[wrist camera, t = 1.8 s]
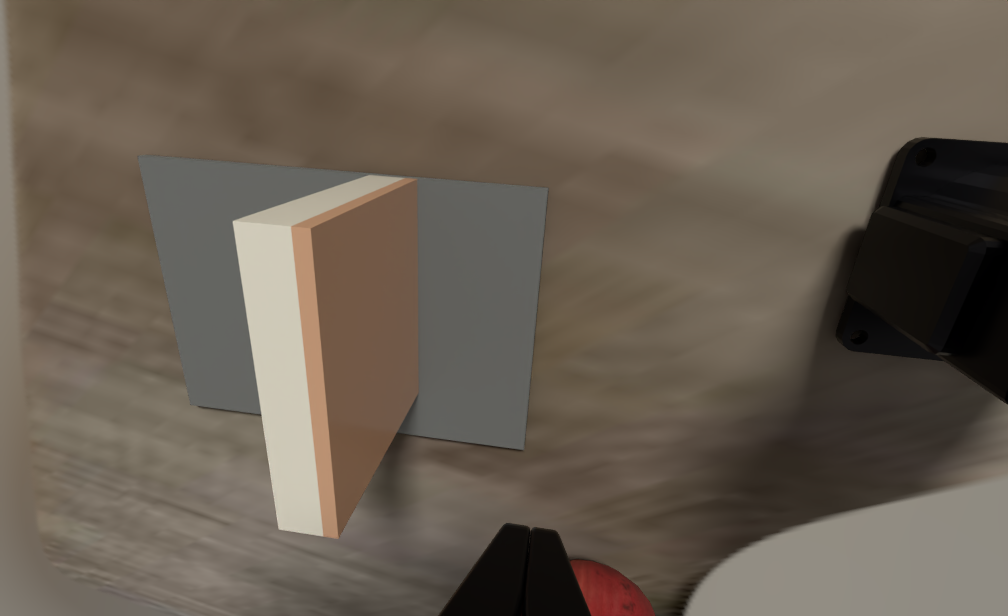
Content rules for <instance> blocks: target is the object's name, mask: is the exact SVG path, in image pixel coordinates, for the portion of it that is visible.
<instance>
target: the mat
mask: <svg viewBox="0 0 1008 616" xmlns="http://www.w3.org/2000/svg"><path fill="white" fill-rule="evenodd" d="M138 161H139V166H140V170H141V175H142V180H143V184H144V189H145V194H146V198H147V203H148V208H149V212H150V217H151V222H152V227H153V231H154V236H155V241H156V245H157V250H158V255H159V259H160V264H161V269H162V274H163V278H164V283H165V288H166V292H167V297H168V302H169V306H170V311H171V316H172V321H173V325H174V330H175V335H176V339H177V344H178V349H179V353H180V358H181V363H182V367H183V372H184V377H185V382H186V386H187V391H188V396H189V400H190V405H195V406H203V407H210V408H217V409H225V410H232V411H240V412H247V413H254V414H261V407H260V401H259V394H258V387H257V381H256V374H255V367H254V361H253V354H252V347H251V341H250V334H249V327H248V321H247V314H246V307H245V301H244V294H243V287H242V281H241V274H240V267H239V261H238V254H237V247H236V241H235V234H234V227H233V221H234V220H237V219H240V218H243V217H246V216H249V215H252V214H255V213H258V212H261V211H264V210H267V209H270V208H272V207H275V206H278V205H281V204H284V203H287V202H290V201H293V200H296V199H299V198H302V197H305V196H308V195H311V194H314V193H317V192H320V191H323V190H326V189H329V188H332V187H335V186H338V185H341V184H344V183H347V182H350V181H353V180H356V179H359V178H362V177H365V176H368V175H375V176H387V177H399V178H411V179H417V219H418V381H419V393H418V395H417V396H416V398H415V400H414V402H413V404H412V406H411V407H410V409H409V411H408V413H407V415H406V417H405V418H404V420H403V422H402V424H401V426H400V427H399V429H398V431H397V433H402V434H409V435H417V436H424V437H431V438H439V439H446V440H454V441H461V442H468V443H476V444H483V445H491V446H498V447H505V448H513V449H520V450H524V445H525V435H526V425H527V414H528V403H529V392H530V382H531V371H532V360H533V349H534V339H535V328H536V317H537V307H538V296H539V285H540V274H541V264H542V253H543V242H544V231H545V221H546V210H547V199H548V189H549V188H544V187H532V186H519V185H507V184H495V183H483V182H471V181H459V180H447V179H434V178H422V177H410V176H398V175H386V174H374V173H361V172H349V171H337V170H325V169H313V168H301V167H288V166H276V165H264V164H252V163H240V162H228V161H216V160H203V159H191V158H179V157H167V156H155V155H141V156H138Z"/></svg>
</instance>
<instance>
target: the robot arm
mask: <svg viewBox="0 0 1008 616" xmlns="http://www.w3.org/2000/svg"><path fill="white" fill-rule="evenodd" d="M924 148H925V149H926V151H927V157H926V158H925V160H924V161H923V162H922V163H920V164H919V165H917V163H916V162H915V159H916V155H917V154H918V152H919V151H921V150H922V149H924ZM846 290H847V292H848V293H849V296H848V299H847V302H846V304H845V307H844V310H843V313H842V316H841V319H840V322H839V324H838V327H837V330H836V337H837V340H838V341H839V342H840V343H841V344H842V345H843V346H844V347H846V348H847V349H848V350H851V351H856V352H865V353H875V354H884V355H893V356H902V357H911V358H921V359H930V360H939V361H945V362H947V363H948V364H950V365H951V366H953V367H954V368H955V369H957V370H958V371H960V372H961V373H963V374H964V375H966V376H967V377H968V378H970V379H971V380H973V381H974V382H976V383H977V384H979V385H980V386H981V387H983V388H984V389H986V390H987V391H989V392H990V393H992V394H993V395H994V396H996V397H997V398H999V399H1000V400H1002V401H1003V402H1005V403H1006V404H1007V405H1008V143H1002V142H987V141H972V140H957V139H942V138H927V137H921V138H915V139H913V140H911V141H909V142H907V143H906V144H905V145H904V146H903V147H902V148H901V150H900V151H899V153H898V155H897V158H896V161H895V164H894V167H893V170H892V173H891V175H890V178H889V181H888V184H887V187H886V190H885V193H884V195H883V198H882V201H881V204H880V207H879V209H877V210H876V211H875V212H874V213H873V214H872V216H871V219H870V221H869V224H868V227H867V230H866V233H865V236H864V239H863V242H862V245H861V248H860V250H859V253H858V256H857V259H856V262H855V265H854V268H853V271H852V274H851V277H850V279H849V282H848V285H847V289H846ZM857 330H861V334H860V335H859V337H857V338H855V339H850V336H851V335H852V333H853V332H855V331H857ZM529 540H530V542H529ZM528 549H529V551H528ZM527 559H528V560H527ZM522 604H523V605H522ZM521 613H522V614H521ZM438 616H591V613H590V611H589V608H588V606H587V603H586V601H585V598H584V596H583V593H582V591H581V588H580V586H579V583H578V581H577V578H576V576H575V573H574V571H573V568H572V566H571V563H570V561H569V558H568V556H567V553H566V551H565V548H564V546H563V543H562V541H561V538H560V536H559V534H558V532H556V531H555V530H550V529H544V528H537V527H534V528H532V530H531V533H530V528H529V527H528V526H524V525H518V524H512V523H506V524H504V525H503V526H502V527H501V529H500V530H499V532H498V533H497V534H496V536H495V537H494V539H493V540H492V541H491V543H490V544H489V545H488V547H487V548H486V550H485V551H484V552H483V554H482V555H481V557H480V558H479V559H478V561H477V562H476V564H475V565H474V566H473V568H472V569H471V571H470V572H469V573H468V575H467V576H466V578H465V579H464V580H463V582H462V583H461V585H460V586H459V587H458V589H457V590H456V592H455V593H454V594H453V596H452V597H451V599H450V600H449V601H448V603H447V604H446V605H445V607H444V608H443V610H442V611H441V612H440V614H439V615H438Z"/></svg>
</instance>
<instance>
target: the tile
mask: <svg viewBox="0 0 1008 616" xmlns="http://www.w3.org/2000/svg"><path fill="white" fill-rule="evenodd" d="M233 227H234V234H235V241H236V247H237V254H238V261H239V267H240V274H241V281H242V287H243V294H244V301H245V307H246V314H247V321H248V327H249V334H250V341H251V347H252V354H253V361H254V367H255V374H256V381H257V387H258V394H259V401H260V407H261V414H262V421H263V427H264V434H265V441H266V447H267V454H268V461H269V468H270V474H271V481H272V488H273V494H274V501H275V508H276V514H277V521H278V528H279V529H280V530H286V531H293V532H299V533H305V534H311V535H318V536H324V537H330V538H336V539H339V537H340V535H341V533H342V531H343V530H344V528H345V526H346V524H347V522H348V520H349V519H350V517H351V515H352V513H353V511H354V509H355V508H356V506H357V504H358V502H359V500H360V499H361V497H362V495H363V493H364V491H365V489H366V488H367V486H368V484H369V482H370V480H371V478H372V477H373V475H374V473H375V471H376V469H377V468H378V466H379V464H380V462H381V460H382V458H383V457H384V455H385V453H386V451H387V449H388V448H389V446H390V444H391V442H392V440H393V438H394V437H395V435H396V433H397V431H398V429H399V427H400V426H401V424H402V422H403V420H404V418H405V417H406V415H407V413H408V411H409V409H410V407H411V406H412V404H413V402H414V400H415V398H416V396H417V395H418V393H419V381H418V219H417V179H411V178H399V177H387V176H375V175H368V176H365V177H362V178H359V179H356V180H353V181H350V182H347V183H344V184H341V185H338V186H335V187H332V188H329V189H326V190H323V191H320V192H317V193H314V194H311V195H308V196H305V197H302V198H299V199H296V200H293V201H290V202H287V203H284V204H281V205H278V206H275V207H272V208H270V209H267V210H264V211H261V212H258V213H255V214H252V215H249V216H246V217H243V218H240V219H237V220H234V221H233Z"/></svg>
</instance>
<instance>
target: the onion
mask: <svg viewBox="0 0 1008 616" xmlns="http://www.w3.org/2000/svg"><path fill="white" fill-rule="evenodd" d="M570 563H571V566H572V568H573V571H574V573H575V576H576V578H577V581H578V583H579V586H580V588H581V591H582V593H583V596H584V598H585V601H586V603H587V606H588V608H589V611H590V613H591V616H656V615H655V613H654V611H653V608H652V606H651V604H650V602H649V600H648V599H647V598H646V596H645V595H644V594H643V592H642V591H641V590H640V588H639V587H638V586H637V585H636V584H634V583H633V582H632V581H630V580H629V579H628V578H626V577H625V576H624V575H622V574H621V573H620V572H619V571H617V570H615V569H613V568H611V567H609V566H607V565H603V564H600V563H597V562H593V561H587V560H581V559H576V560H571V561H570ZM522 605H523V604H522ZM521 614H522V613H521Z"/></svg>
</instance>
